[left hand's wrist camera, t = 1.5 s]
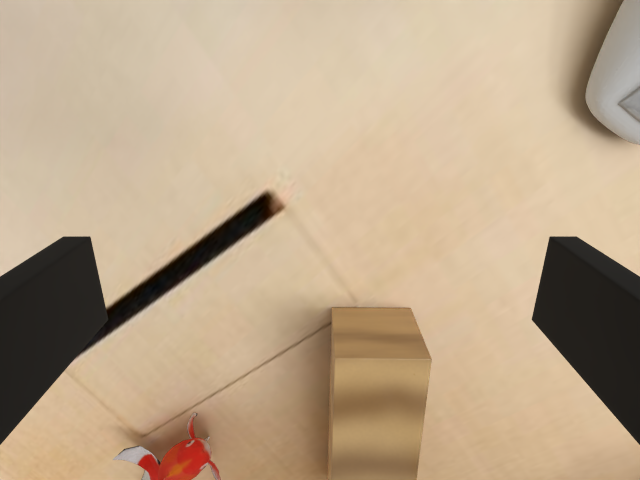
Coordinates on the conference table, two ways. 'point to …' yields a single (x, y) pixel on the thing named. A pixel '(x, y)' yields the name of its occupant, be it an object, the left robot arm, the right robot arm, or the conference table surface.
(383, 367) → the box
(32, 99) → the conference table surface
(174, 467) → the fish
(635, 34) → the projector
